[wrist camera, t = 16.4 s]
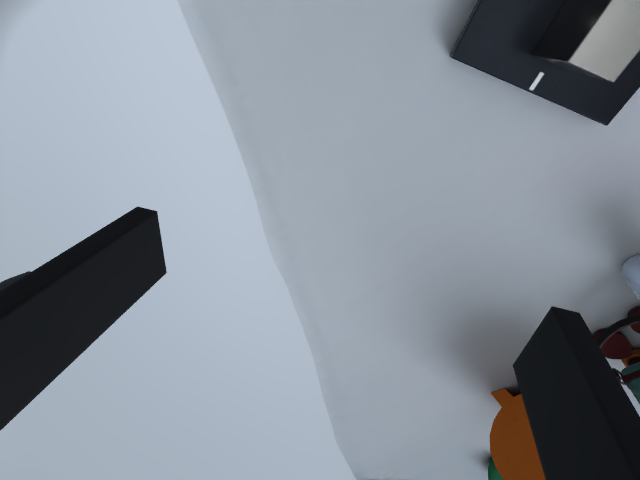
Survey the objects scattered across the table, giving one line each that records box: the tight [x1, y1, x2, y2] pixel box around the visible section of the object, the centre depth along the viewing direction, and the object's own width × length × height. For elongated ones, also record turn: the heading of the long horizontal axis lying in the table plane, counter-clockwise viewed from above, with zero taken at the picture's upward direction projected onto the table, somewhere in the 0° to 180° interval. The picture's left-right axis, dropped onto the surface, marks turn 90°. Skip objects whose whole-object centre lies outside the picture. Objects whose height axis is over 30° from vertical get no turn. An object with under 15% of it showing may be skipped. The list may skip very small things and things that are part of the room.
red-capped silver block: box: [531, 0, 640, 82], centre depth 22 cm, size 6×3×8 cm, turn 160°
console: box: [450, 0, 640, 125], centre depth 26 cm, size 14×11×2 cm
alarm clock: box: [490, 388, 546, 480], centre depth 39 cm, size 13×6×20 cm, turn 136°
